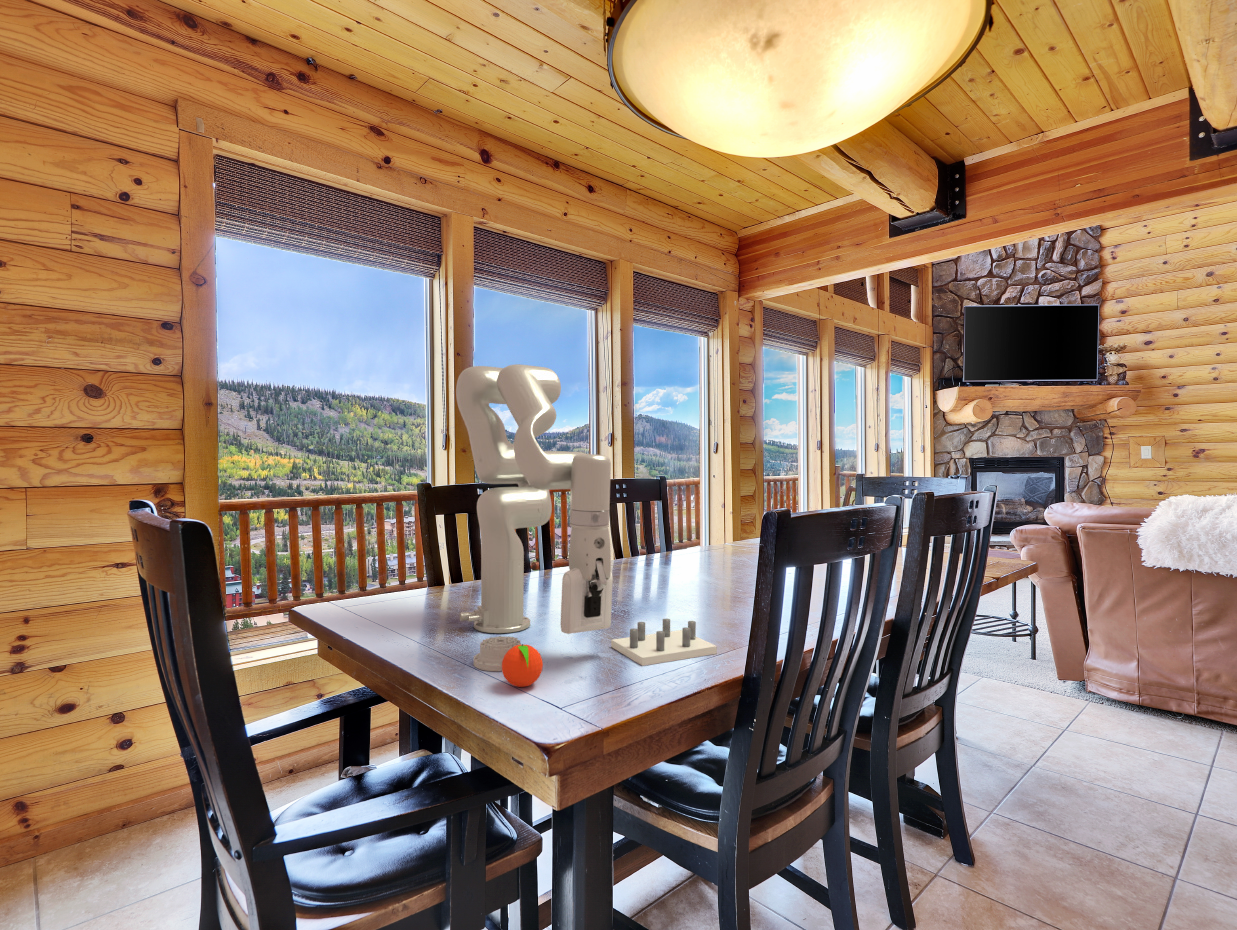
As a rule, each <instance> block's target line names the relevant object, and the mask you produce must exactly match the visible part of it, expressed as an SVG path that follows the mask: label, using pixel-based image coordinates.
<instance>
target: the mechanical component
mask: <svg viewBox="0 0 1237 930" xmlns="http://www.w3.org/2000/svg"><path fill="white" fill-rule="evenodd" d="M516 645H522V643H521V639H520V640H519V639H518V637H514V636H501V635H500V636H495V637H491V636H490V637H489V638H485V639H482V642H480V643H479V652H477V654H475V655H474V656H473V666H474V667H475V668H477V669H478V670H482V671H485V672H487V671H488V672H502V661H503V658H504V656H505V654H506V653H507V652H508V651H509V650H510V649H511V648H513V647H514V646H516Z"/></svg>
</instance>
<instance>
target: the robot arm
mask: <svg viewBox="0 0 1237 930" xmlns="http://www.w3.org/2000/svg"><path fill="white" fill-rule="evenodd" d="M560 380H561V379H560V378H559V376H558V374H557V373H556V372H555V371H554V370H553V369H551V368H549V367H545V366H536V365H528V364H517V363H516V364H510V365H507V366H505V367H497V366H488V365H487V366H486V365H474V366H470V367H467V368H465V369H464V370H462V372H460V374H459V375H458V378H457V381H456V386H455V387H456V389H455V394H456V404H457V407H458V410H459V413H460V415H461V418H462V419H463V422H464V425H465V427H466V430H467V434H468V437H469V439H468V440H469V444H470V448H471V454H472V458H473V463H474V468H475V471H476V475H477V477H478V479H479V481H481V482H482V483H484V484H489V485H515V484H516V485H518V486H502V487H493V488H489V489H487V490H485V491H484V492H482V493H481V494H480V496H478V499H477V502H476V514H477V520H478V525H479V531H480V555H481V556H480V558H481V559H480V562H481V563H480V564H481V565H480V566H481V569H480V570H481V571H480V576H481V577H480V578H481V579H480V583H481V584H480V605H477V607H476V609H473V610H472V611H462V612H459V615H458V616H459V622H466V621H467V622H468V623H471V622H473V628H474V629H475V630H476V631H479V632H482V633H487V634H509V633H516V632H521V631H524V630H526V629H527V628H529V627H530V626H531V619H530V618H529V617H526V616H524V590H525V588H524V585H525V584H524V580H525V579H524V575H525V574H524V571H525V569H524V567H525V566H524V565H525V564H524V563H525V561H524V558H525V557H524V555H525V551H524V546H523V543H522V540H521V539H520V537H519V536H518V534H517V532H516V530H517V529H524V528H525V529H526V528H536V527H541V526H543V525H545V524H547V523H548V522H549V520H550V518H551V516H552V510H553V507H552V506H553V505H552V499H551V493H550V490H570V495H569V496H570V498H569V499H570V502H569V503H570V505H569V527H571V528H570V529H571V531H570V536H569V537H570V538H569V547H568V548H569V549H568V550H569V551H568V569H569V570H571V569H574V568H577V569H579V570H580V572H581V574H582V577H583V579H584V580H586V592H587V596H585V601H584V616H585V617H586V618H589V617H598V616H600V614H601V596H602V591H603V588H604V587H605V586H606V585H607V581H606V580H608V579H609V578H610V576H611V573H612V571H611V570H612V564H611V563H612V561H611V558H612V555H611V554H612V553H611V552H612V550H611V538H610V531H609V527H610V525H609V524H610V503H611V499H610V498H611V470H612V463H611V460H610V459H611V458H610V457H608V456H607V455H603V454H594V453H592V454H589V453H586V452H580V451H564V450H561V451H559V450H558V451H557V450H556V451H555V450H554V451H553V450H551V451H550V450H545V451H544V450H543V449H542V448H541V447H540V444H539V443H538V440H536V438H538V437H540V436H541V435H543V434H545V433H546V432H547V431H549V430H550V429H551V428H552V427H553V425H554V424H555V422H556V420H557V412H556V409H555V407H554V405H553V404H554V403H555V402H556V401H558V399H559V397H560V395H561V393H562V384H561V381H560ZM490 404H495V405H497V404H498V405H506V407H507V408H508V410H509V412H510V414H511V416H512V418H513V419H514V421H515V423H516V425H517V430H516V432H515V435H514V439H513V443H511V442H510V441H509V440H508V437H507V433H506V428H505V424H504V422H503V421H502V419H501V418H500V416H499V415H498V413H497V412H496V411H495V410H494V409H493V408H492V407H491V406H490ZM592 576H596V577H597V579H592ZM591 579H592V580H591ZM591 583H596V584H594V585H593V586H592V588H591Z"/></svg>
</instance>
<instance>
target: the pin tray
mask: <svg viewBox="0 0 1237 930" xmlns="http://www.w3.org/2000/svg"><path fill="white" fill-rule="evenodd" d="M696 623H697V622H696V621H694V620H688V621H687V627H682V629H678V630H672V631H671V619H670V618H662V630H657V631H656V632H655V633H651V634H646V622H645V621H637V628H634V627H633V628H630V629H629V636H627V637H622V638H615V639H614V638H613V639H611V641H610V643H611V647H610V648H612V649H614V650H615V651H617V652H618V653H621V654H623V655H624V656H625V657H627V658H629V659H630V660H632V661H634V662H635V663H637V664H639V665H640V666H642V667H643V666H649V665H650V666H651V665H655V664H663V663H669V662H672V661H681V660H686V659H693V658H699V657H705V656H711V655H716V654H718V646H717V645H715V644H714V643H712V642H708V641H707V640H704V639H702V638H700V637H698V636H696V632H697V631H696V629H697V628H696V627H697V625H696Z"/></svg>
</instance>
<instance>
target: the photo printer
mask: <svg viewBox="0 0 1237 930" xmlns="http://www.w3.org/2000/svg"><path fill="white" fill-rule="evenodd" d="M592 579H597V577H596V576H592ZM592 579H591V580H592ZM613 579H614V578H613V573H612V572H611V576H610V578H609V579H608V580H606V581H607V585H606V586H605V587H604V588H603V591H602V596H601V614H600V616H598V617H589V618H586V617H585V616H584V601H585V596H587V592H586V580H584V579H583V577H582V574H581V572H580V570H579V569H577V568H574V569H571V570H570V569H569V570H567V571H565V572H564V573H563V575H562V579H561V580H562V583H561V602H560V603H561V605H560V606H561V607H560V629H561V632H562V633H563V634H567V635H570V634H579V633H585V632H592V631H597V630H599V631H600V630H605V629H609V628H611V625H612V624H611V623H612V602H613V601H612V600H613V581H614V580H613ZM594 584H596V583H591V588H592V586H593V585H594Z"/></svg>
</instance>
